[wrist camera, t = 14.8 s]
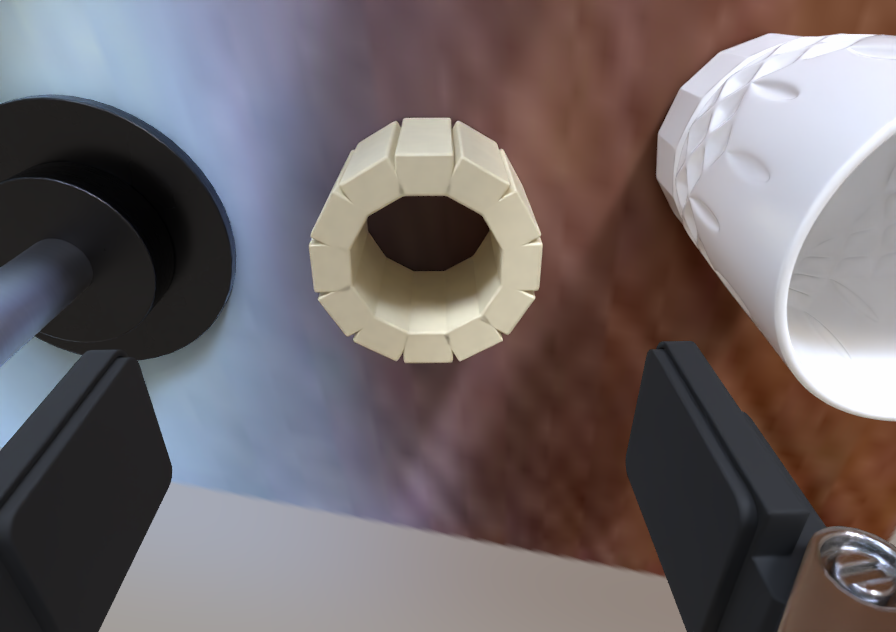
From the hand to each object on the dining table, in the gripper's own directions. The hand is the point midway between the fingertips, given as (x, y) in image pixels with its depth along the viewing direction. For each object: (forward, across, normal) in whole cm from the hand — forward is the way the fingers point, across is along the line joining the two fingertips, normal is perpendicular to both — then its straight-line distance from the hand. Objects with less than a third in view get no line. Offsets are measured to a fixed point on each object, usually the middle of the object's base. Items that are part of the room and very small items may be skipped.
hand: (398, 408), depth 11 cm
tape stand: (+12, +12, +2) cm, 17 cm away
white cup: (+12, -12, -2) cm, 17 cm away
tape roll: (+12, 0, +1) cm, 12 cm away
